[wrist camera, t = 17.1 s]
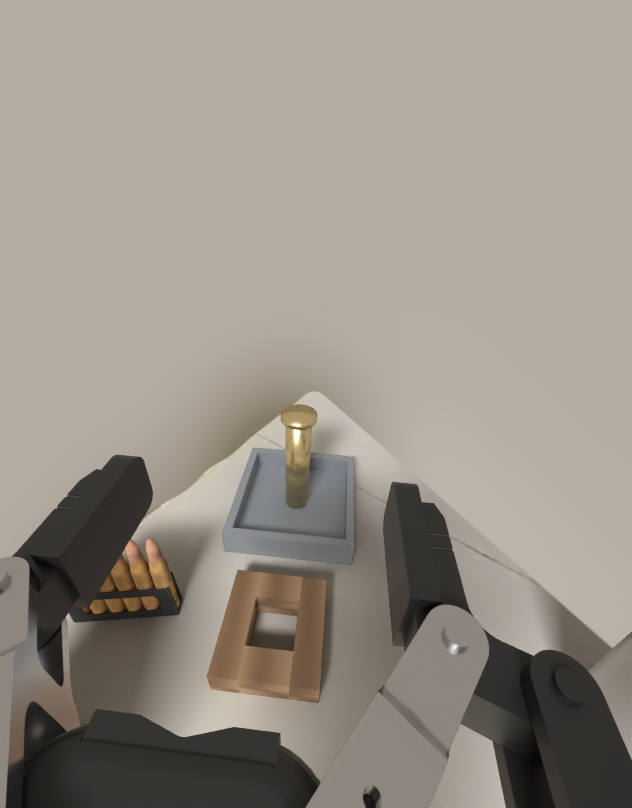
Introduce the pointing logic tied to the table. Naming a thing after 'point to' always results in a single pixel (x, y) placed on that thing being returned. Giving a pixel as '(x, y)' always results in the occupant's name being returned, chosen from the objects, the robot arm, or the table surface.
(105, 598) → the ammunition clip
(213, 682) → the socket block
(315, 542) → the slate tray
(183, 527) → the table surface
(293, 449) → the pin
